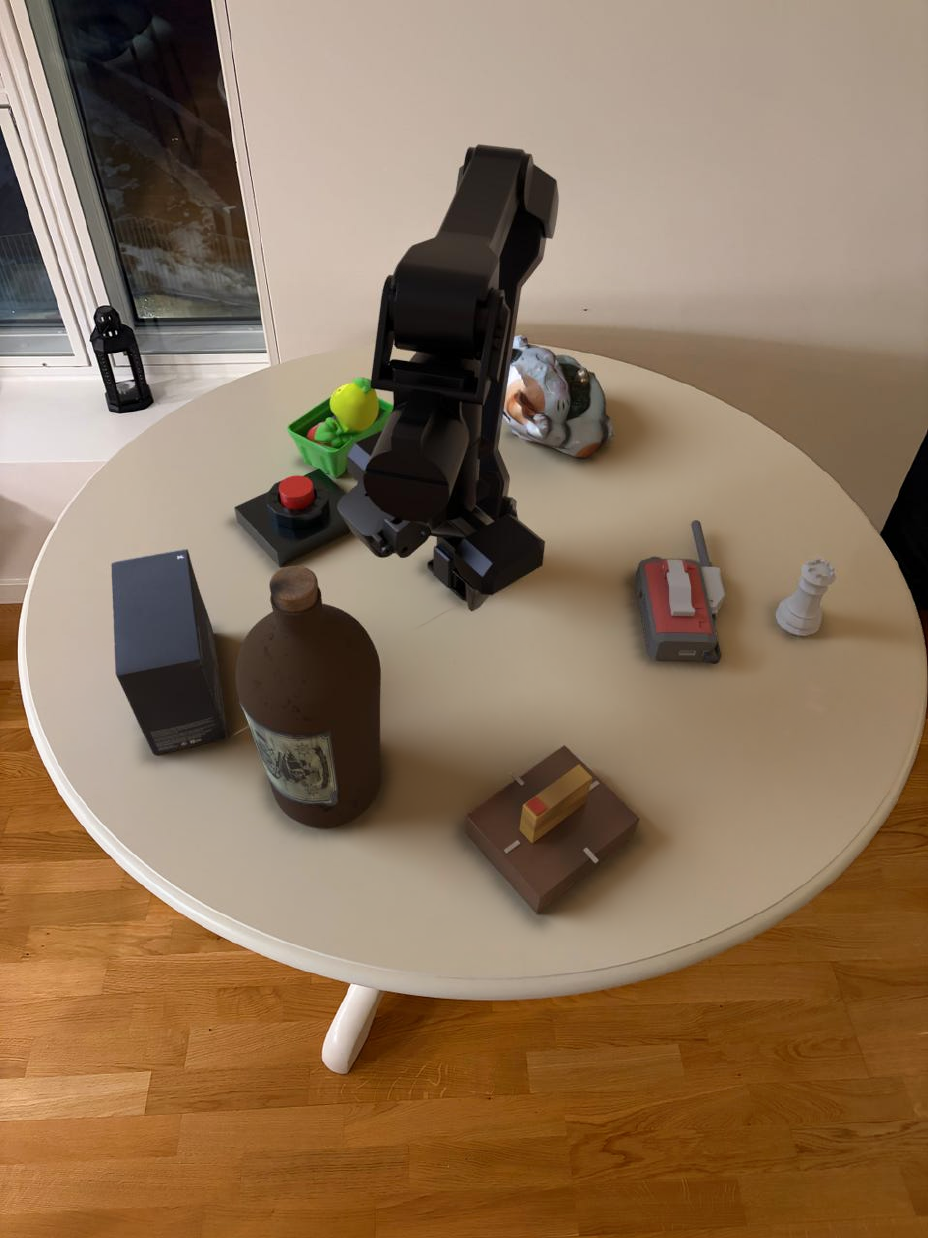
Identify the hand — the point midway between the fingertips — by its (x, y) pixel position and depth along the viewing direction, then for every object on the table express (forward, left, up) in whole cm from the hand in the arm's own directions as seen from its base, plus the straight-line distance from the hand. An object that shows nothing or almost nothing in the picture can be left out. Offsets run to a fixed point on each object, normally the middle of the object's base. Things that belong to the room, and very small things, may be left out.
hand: (440, 577), depth 78 cm
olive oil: (+16, +4, -12) cm, 20 cm away
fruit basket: (-11, -32, -12) cm, 36 cm away
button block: (0, -25, -12) cm, 28 cm away
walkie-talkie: (-25, +8, -12) cm, 29 cm away
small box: (+21, -12, -12) cm, 27 cm away
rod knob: (+4, +20, -9) cm, 22 cm away
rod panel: (+4, +20, -12) cm, 24 cm away
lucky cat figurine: (-33, -20, -12) cm, 40 cm away
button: (0, -25, -8) cm, 26 cm away
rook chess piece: (-32, +18, -12) cm, 39 cm away
